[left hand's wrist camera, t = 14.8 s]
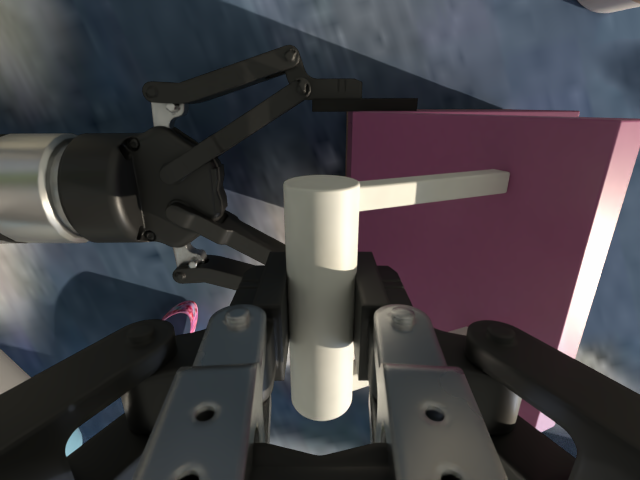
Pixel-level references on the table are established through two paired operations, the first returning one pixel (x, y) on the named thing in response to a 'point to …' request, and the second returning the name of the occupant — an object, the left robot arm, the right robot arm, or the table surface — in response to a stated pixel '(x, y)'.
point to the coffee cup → (609, 5)
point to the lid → (453, 233)
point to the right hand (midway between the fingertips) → (404, 187)
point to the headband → (186, 308)
